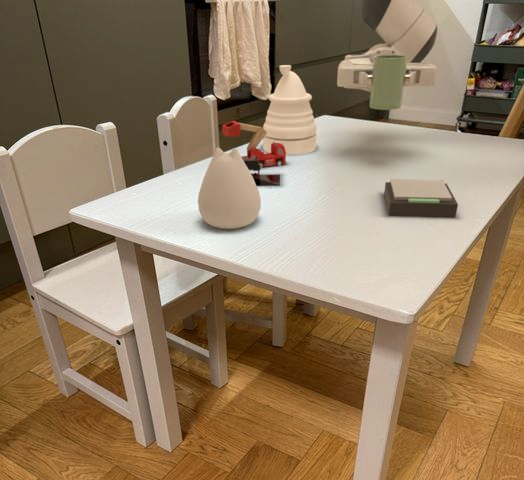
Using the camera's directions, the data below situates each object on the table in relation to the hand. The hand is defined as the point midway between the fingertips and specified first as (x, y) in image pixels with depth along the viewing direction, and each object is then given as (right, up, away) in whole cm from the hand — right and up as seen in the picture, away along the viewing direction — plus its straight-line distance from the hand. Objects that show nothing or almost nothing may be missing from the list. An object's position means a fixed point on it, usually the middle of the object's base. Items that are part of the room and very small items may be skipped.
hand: (388, 80), depth 99 cm
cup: (0, -3, +4) cm, 5 cm away
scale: (+3, -28, -10) cm, 30 cm away
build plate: (-28, -19, +3) cm, 34 cm away
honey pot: (-18, -5, +23) cm, 30 cm away
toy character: (-30, -32, -15) cm, 47 cm away
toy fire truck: (-26, -14, +11) cm, 32 cm away
